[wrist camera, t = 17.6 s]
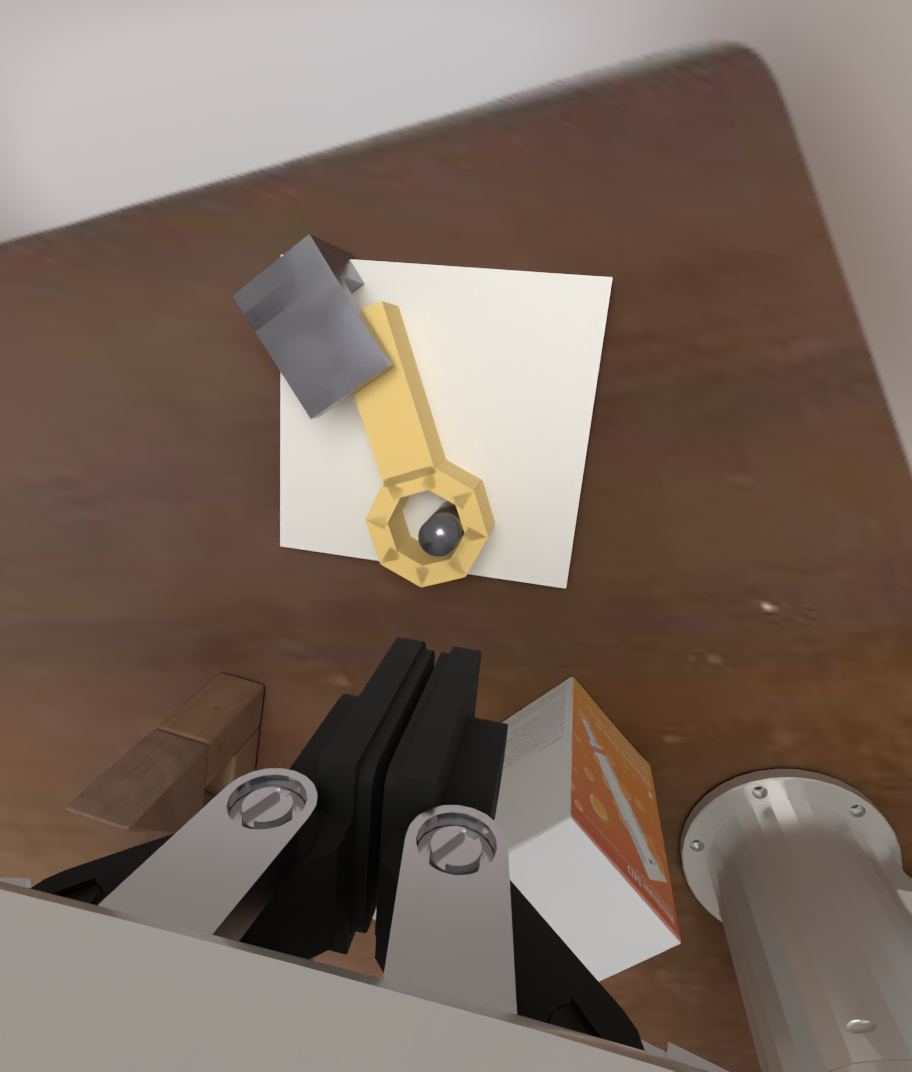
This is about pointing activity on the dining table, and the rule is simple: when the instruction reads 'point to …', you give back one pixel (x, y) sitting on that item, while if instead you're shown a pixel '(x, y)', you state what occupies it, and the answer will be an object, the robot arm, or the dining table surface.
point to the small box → (586, 832)
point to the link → (414, 464)
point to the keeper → (315, 324)
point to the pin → (441, 531)
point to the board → (465, 414)
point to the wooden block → (180, 762)
